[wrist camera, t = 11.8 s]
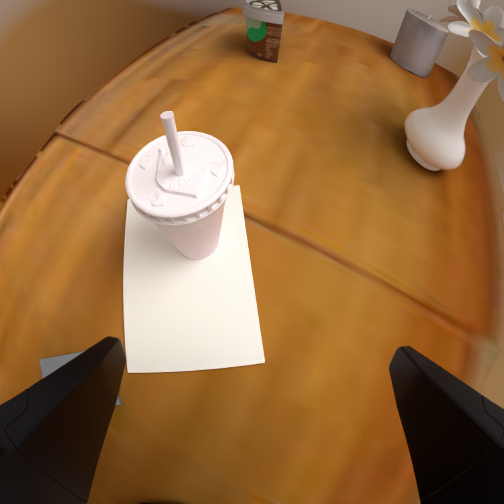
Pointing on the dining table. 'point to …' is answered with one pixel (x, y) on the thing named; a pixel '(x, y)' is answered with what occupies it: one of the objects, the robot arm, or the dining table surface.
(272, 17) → the food container
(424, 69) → the pillar candle
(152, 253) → the paper
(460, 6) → the flower vase
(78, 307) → the dining table surface
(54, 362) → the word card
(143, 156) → the smoothie
